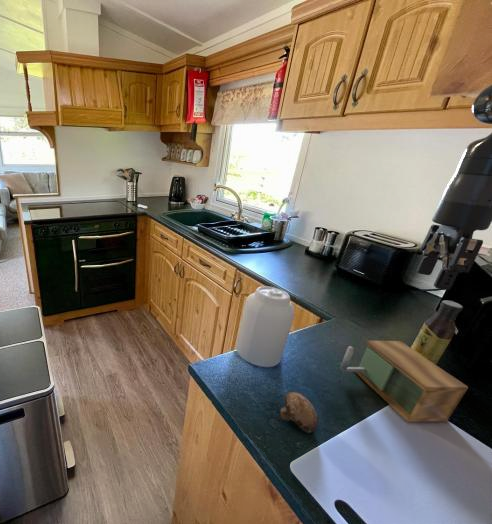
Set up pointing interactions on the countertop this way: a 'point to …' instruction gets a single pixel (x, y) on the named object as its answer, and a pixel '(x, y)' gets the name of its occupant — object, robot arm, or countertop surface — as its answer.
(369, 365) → the door
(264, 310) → the can
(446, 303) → the sauce bottle
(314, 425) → the mushroom
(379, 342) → the cupboard
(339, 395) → the countertop surface
